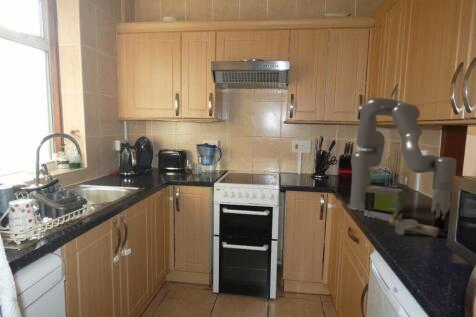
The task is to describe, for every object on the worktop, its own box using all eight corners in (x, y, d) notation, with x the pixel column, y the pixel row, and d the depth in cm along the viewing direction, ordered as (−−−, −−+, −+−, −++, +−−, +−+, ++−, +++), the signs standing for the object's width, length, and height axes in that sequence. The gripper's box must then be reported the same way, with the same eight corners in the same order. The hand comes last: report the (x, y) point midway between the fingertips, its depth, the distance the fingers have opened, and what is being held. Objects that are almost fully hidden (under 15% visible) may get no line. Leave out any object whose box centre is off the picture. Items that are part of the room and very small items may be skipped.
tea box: (402, 218, 141) (404, 189, 140) (396, 223, 134) (399, 192, 132) (370, 212, 151) (371, 184, 150) (363, 216, 144) (365, 187, 142)
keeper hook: (394, 232, 123) (395, 219, 122) (411, 232, 123) (413, 219, 123) (399, 235, 120) (400, 221, 119) (416, 234, 121) (417, 221, 120)
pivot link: (387, 225, 131) (388, 213, 130) (391, 223, 134) (392, 210, 134) (435, 237, 117) (436, 223, 117) (438, 234, 121) (439, 220, 120)
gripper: (437, 182, 130) (433, 222, 132) (428, 187, 120) (424, 229, 122) (457, 185, 125) (454, 226, 127) (449, 190, 115) (446, 234, 117)
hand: (439, 227), depth 125 cm, fingers closed
